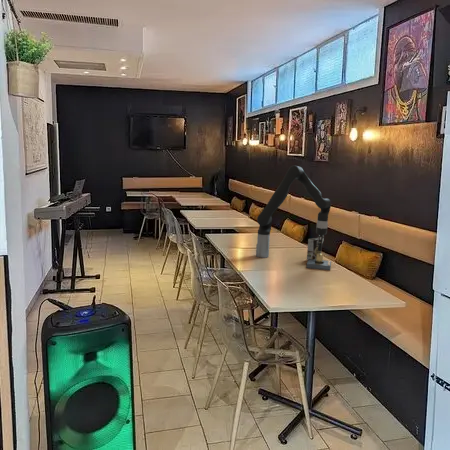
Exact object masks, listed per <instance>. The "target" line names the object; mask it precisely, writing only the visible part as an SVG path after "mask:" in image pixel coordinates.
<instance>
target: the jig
mask: <svg viewBox="0 0 450 450" xmlns="http://www.w3.org/2000/svg"><path fill="white" fill-rule="evenodd" d="M331 266H332V260H329V259H328V260H324V259H323V262H322V264H321V263H316V259H308V260H307V263H306V269H313V270H323V271H331V268H332V267H331Z"/></svg>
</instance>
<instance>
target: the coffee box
mask: <svg viewBox="0 0 450 450" xmlns="http://www.w3.org/2000/svg"><path fill="white" fill-rule="evenodd" d="M317 253H321V254H322V250H321V251H318V237H313V238H308V240H307V252H306V260H307V261H308V259H316V257H317Z"/></svg>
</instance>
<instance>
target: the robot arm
mask: <svg viewBox="0 0 450 450" xmlns="http://www.w3.org/2000/svg"><path fill="white" fill-rule="evenodd" d="M295 180H298V182H299V183H300V184H301V185H303V188H304V189H305V191H306V193H307V194H308V196H310V197H311V198H312V200H313V202H314V204H315V205H316V207H318V208H319V209H320V211H319V212H318V213H317V221H316V226H315V227H316V229H315V233H316V234H317V235H318V236H317V238H318V251H321V252H322V249H323V244H324V241H325V240H324V239H325V236H326V235H327V234H328V225H329V223H328V222H329V214H330V211H331V207H332V202H331V199H329V198H324V197H322V195H323V194H322V192H321V191H320V190H319V189H318V188H317V186H316V185H315V184H314V183H313V182H312V180H311V179H310V178H309V177H308V175H307V174H306V172H305V171H304V169H303V167H301V166H298V165H295V164H294V165H291V166H290V167H289V168H288V169H287V171H286V173H285V175H284V177H283V179H282V181H281V182H280V184H279V185H278V187H277V188H276V189H275V191H274V192H273V194H272V195H271V197H270V199H269V201H268V202H267V204H266V206H265V207H264V208H263V210H262V211H261V212H260V213H259V214H258V216H257V220H256V221H257V224H258V225H259V227H258V229H257V242H256V249H255V257H257V258H269V256H270V240H271V239H270V238H271V237H270V236H271V231H272V221H273V218H272V216H273V214H274V213H275V212H276V210H277V209H279V207H280V206H282V204H283V203H284V201H285V200H286V198H287V197H288V194H289V192H290V187H291V185H292V184H293V182H294V181H295Z"/></svg>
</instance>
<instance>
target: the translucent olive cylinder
mask: <svg viewBox="0 0 450 450" xmlns="http://www.w3.org/2000/svg"><path fill="white" fill-rule="evenodd" d="M323 260H324V254H323V253H322V252H321V253H317V257H316V263H321V264H322V262H323Z"/></svg>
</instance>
